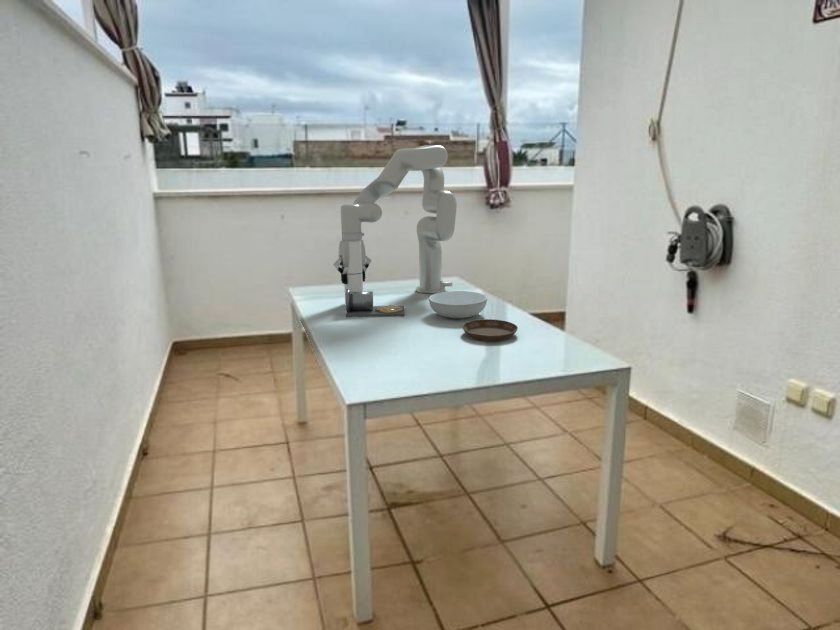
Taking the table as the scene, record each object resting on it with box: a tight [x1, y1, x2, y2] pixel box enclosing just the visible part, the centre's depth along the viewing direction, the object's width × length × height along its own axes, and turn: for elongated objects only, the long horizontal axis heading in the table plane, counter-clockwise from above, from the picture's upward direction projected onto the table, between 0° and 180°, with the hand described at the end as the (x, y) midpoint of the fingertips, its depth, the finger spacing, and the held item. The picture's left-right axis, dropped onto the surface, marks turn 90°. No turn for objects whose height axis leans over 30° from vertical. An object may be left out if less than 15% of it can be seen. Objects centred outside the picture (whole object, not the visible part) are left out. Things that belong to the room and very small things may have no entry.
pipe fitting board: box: [345, 289, 405, 318], centre depth 218 cm, size 21×12×9 cm, turn 92°
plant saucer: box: [461, 318, 519, 342], centre depth 190 cm, size 18×18×3 cm
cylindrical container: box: [343, 241, 364, 304], centre depth 229 cm, size 7×7×25 cm
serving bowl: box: [428, 290, 488, 320], centre depth 213 cm, size 21×21×7 cm
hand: (353, 282), depth 230 cm, fingers closed on cylindrical container, 7 cm apart
